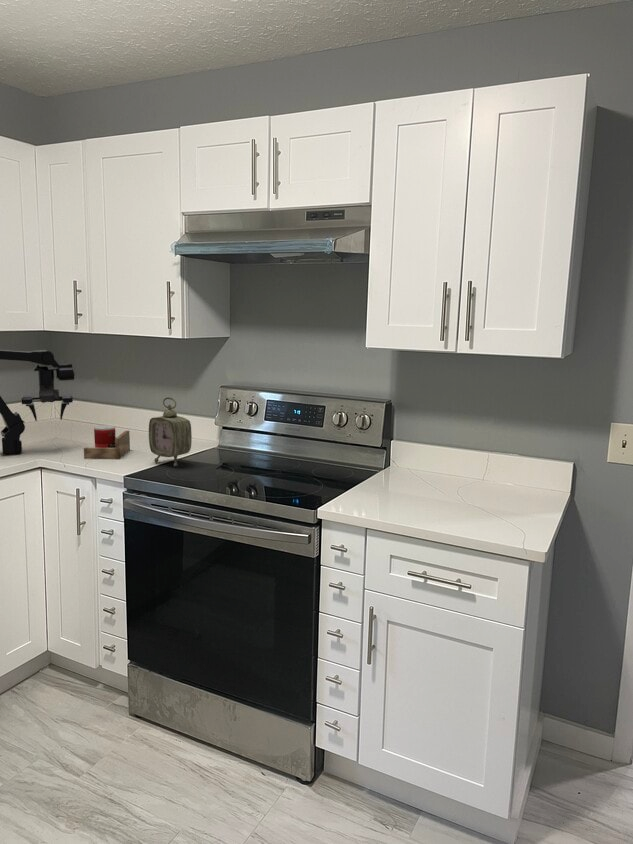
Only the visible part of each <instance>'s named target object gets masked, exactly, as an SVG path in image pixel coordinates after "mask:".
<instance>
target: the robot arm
mask: <svg viewBox="0 0 633 844" xmlns="http://www.w3.org/2000/svg"><path fill="white" fill-rule="evenodd" d="M0 360H4V361H7V360H8V361H17V362H19V361H22V362H30V363H35V364H36V365H35V366H34V367H33V368H32V371H33V372H37V375H38V392H39V393H38V396H37V397H36V396H34V397H33V394H32V395H23V396H21V405H25V407H28V408H29V409H30V411H31V413H32V415H33V418H34V420H35V422H38V417H37V412H36V408H35V407H36V406H35V403H39V402H41V403H43V404H44V403H54V402H60V413H59V416H60V417H59V418H60V420H61V421H62V419H63V416H64V412H65V410H66V407H67V406H68V405H70V403H73V401H74V400H73V395H72V393H65V394H61V396H60V391H59V389H55V379H56V380H57V381H58V382H66V381H67V382H69V381H71V382H72V381H74V380H75V372H74V371H75V370H74V368H73V364H72V363H67V364H59V362H58V361H56V359H55V355H54V353H52V351H50V350H46V349H37V350H36V349H35V350H28V351H27V350H26V351H24V350H23V351H22V350H10V349H9V350H8V349H0ZM40 365H41V366H40ZM42 365H43V366H42ZM48 366H49V367H52V368H49V367H48ZM0 415H1V417H2V421H3V423H4V425H5V427H4V428H3V429H1V431H0V435H1V436H2V438H1V447H2V453H1V455H2V454H12V455H11V456H13V454H15V455H21V454H22V452H23V445H22V442H23V441H22V439H21V435H22V434H23V433H24V432H25V430H26V426H25V423H26V421H24V420H23V419H22V417H21V415H20V413H18V412H17V411H15V412H14V413H13V411H12V410H11V409H10V407H9V406H8V405H7V403H6V402H5V401H4V399H3V398H2V396H1V395H0Z"/></svg>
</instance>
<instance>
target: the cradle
mask: <svg viewBox="0 0 633 844" xmlns="http://www.w3.org/2000/svg"><path fill="white" fill-rule="evenodd" d="M130 438H131V437H130V430H124V431H123V432H121V433H120V434H119V435H118V436H117V437H116V438H115V448H95V447H84V448H83V459H87V460H89V459H92V460H93V459H95V460H98V459H102V460H108V459H109V460H110V459H111V460H115V459H116V460H121V459H122V458H123V457H124V456H125V455H126V454H127V453H128V452H129V451H131V445H130V444H131V443H130V442H131V441H130Z"/></svg>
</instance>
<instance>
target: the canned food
mask: <svg viewBox="0 0 633 844" xmlns="http://www.w3.org/2000/svg"><path fill="white" fill-rule="evenodd" d="M93 433H94V434H93V435H94V437H93V439H94V448H115V438H116V426H114V425H110V424H108V425H96V426H94V427H93Z"/></svg>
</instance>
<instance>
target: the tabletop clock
mask: <svg viewBox="0 0 633 844" xmlns="http://www.w3.org/2000/svg"><path fill="white" fill-rule="evenodd" d="M166 400H170V401H171V400H172V402H173V403H174V406H172V405H171V404H168V406H167V405H166V404H165V401H166ZM162 405H163V406H164V407H165V408H166V409H165V410H164V412H163V413H162V416H155V417H151V418H150V419H149V421H148V443H149V450H150V452H151V453H152V454H154V455H156V456H157V457H156V458H154V459H153V461H154V462H155V463H158V462H159V461H160V460H159V459H160V457H163V458H173V467H175V466H177V467H178V466H179V463H178V462H179V460H178V456H182V455H187V454H188V453H189V452H190V451H191V449H192V442H193V441H192V439H193V437H192V435H193V434H192V424H191V421H190V419H187V418H186V417H183V416H180V415H178V414H177V411H175V410H174V409H175V408H176V407H177V401H176V399H174V398H173V397H164V399H163V401H162ZM174 461H175V462H174Z"/></svg>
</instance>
